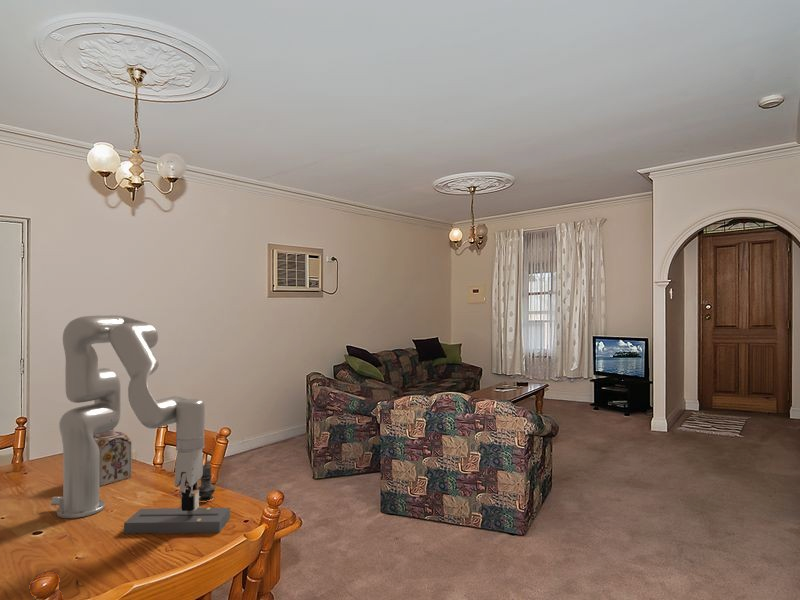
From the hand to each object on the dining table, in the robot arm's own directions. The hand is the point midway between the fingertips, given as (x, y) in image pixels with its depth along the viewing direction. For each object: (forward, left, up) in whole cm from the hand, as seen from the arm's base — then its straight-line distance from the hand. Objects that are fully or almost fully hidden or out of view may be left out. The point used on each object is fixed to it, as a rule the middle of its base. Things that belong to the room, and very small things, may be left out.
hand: (190, 507), depth 150 cm
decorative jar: (-44, +41, -6) cm, 60 cm away
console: (-3, 0, -5) cm, 6 cm away
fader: (0, 0, -2) cm, 2 cm away
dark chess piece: (-2, +20, -5) cm, 21 cm away
